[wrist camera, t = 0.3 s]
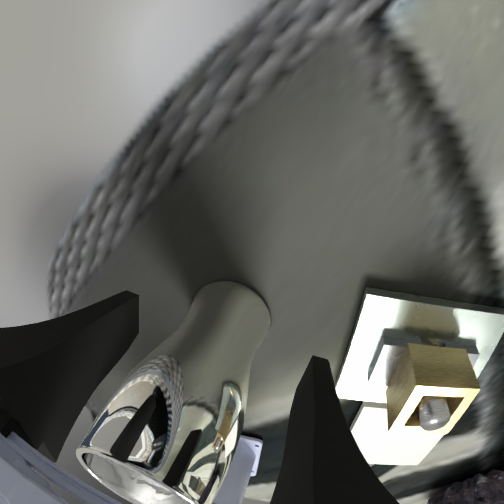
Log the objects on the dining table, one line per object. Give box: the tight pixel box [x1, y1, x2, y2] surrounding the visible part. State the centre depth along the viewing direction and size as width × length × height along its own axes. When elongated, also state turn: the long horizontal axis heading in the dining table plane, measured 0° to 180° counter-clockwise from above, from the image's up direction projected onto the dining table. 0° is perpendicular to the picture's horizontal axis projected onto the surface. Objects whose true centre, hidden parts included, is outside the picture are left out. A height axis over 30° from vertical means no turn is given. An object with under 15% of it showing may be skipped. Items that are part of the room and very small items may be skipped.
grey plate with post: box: [335, 287, 504, 431], centre depth 18 cm, size 10×12×7 cm
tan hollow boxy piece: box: [385, 343, 480, 434], centre depth 18 cm, size 5×5×4 cm
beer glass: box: [76, 281, 271, 504], centre depth 17 cm, size 7×7×15 cm
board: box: [350, 401, 444, 465], centre depth 25 cm, size 10×10×1 cm
